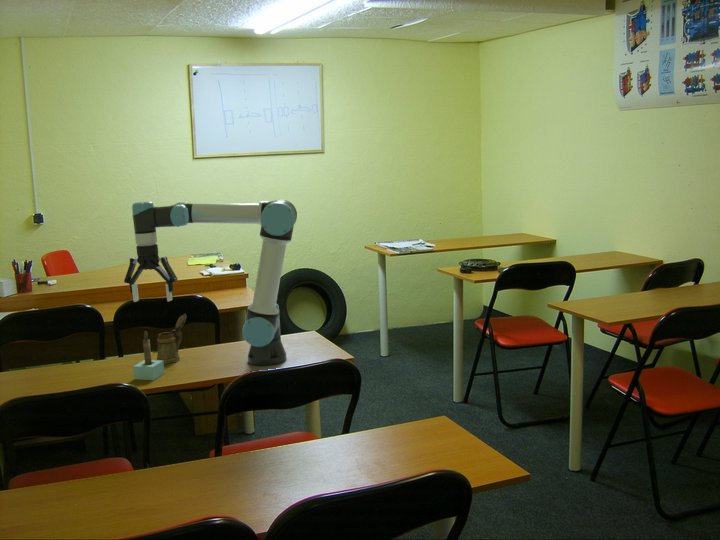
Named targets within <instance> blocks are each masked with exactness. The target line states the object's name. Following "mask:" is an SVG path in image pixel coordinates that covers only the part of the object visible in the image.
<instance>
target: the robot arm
mask: <svg viewBox="0 0 720 540" xmlns="http://www.w3.org/2000/svg"><path fill="white" fill-rule="evenodd" d="M131 206H132V207H131V210H132V221H133V228H134V236H135V237H134V238H135V239H134V240H135V244H136V247H135V248H136V249H135V250H136V255H137V257H135V256H133V257H130V258H129V265H128V268H127V272H126V275H125V277H124V281H123V282H124V283H126V284H128V285H129V290H130V293H131V294H132V299H133V302H134V303H137V302H138V301H139V302H140V298H139V297H140V296H139V295H140V294H139V289H138V287H139V286H138V282H137V280H138V278H139V277H140V275H141V274H142V272H144V270H145V271H147V270H151V271H152V270H153V271H156V273H157V274H158V275H160V276H161V278H162V279H163V281H165V282H166V283H165V292H166V293H165V294H166V300H167V302H171V301H173V293H172V292H174V282H176V281H178V277H177V275H176V273H175V272H174V270H173V269H172V267H171V265H170V263H169V261H168V257H167V255H166V256H162V257H161V256H160V257H159V245H158V244H157V243H158V238H157V237H158V236H157V228H171V227H175V228H176V227H177V228H178V227H179V228H180V227H184V226H187V225H188V224H242V225H243V224H249V225H250V224H252V225H253V224H258V225H260V232H259V237H260V238H261V239H262V244H261V250H260V257H259V262H258V269H257V275H256V280H255V288H254V293H253V298H252V303H250V304H249V305H248V306H247V309H246V310H247V311H246V316H245V322H244V324H243V326H242V336H243V339H244V340H245V342H247V343H248V344H249V345H250V346H249V350H248V353H247V362H248V363H249V364H250V365H253V366H263V367H264V366H273V365H274V366H275V365H278V364H281V363H284V362H285V361H286V360H287V352H286V349H285V347H284V345H283V343H282V337H281V322H280V319H281V318H280V311H281V310H280V305H279V304H278V303H277V300H278V295H279V288H280V282H281V277H282V273H283V272H282V271H283V267H284V265H283V264H284V259H285V254H286V249H287V244H288V243H290V242H291V241H292V237H293V232H294V226H295V224H296V222H297V219H298V212H297V208H296V206H295V205H294V204H293V203H292V202H291V201H289V200H286V199H275V200H262V201H260V202H259V203H186V202H177V203H175V204H172V205H166V206H165V205H164V206H154V202H153V201H139V202H134V203H132V205H131ZM137 263H138V264H139V265H138V267H137V269H136V271H135V268H136V266H137ZM160 263H161V264H160ZM163 268H164V269H163ZM136 282H137V283H136Z"/></svg>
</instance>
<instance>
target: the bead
mask: <svg viewBox="0 0 720 540" xmlns="http://www.w3.org/2000/svg"><path fill="white" fill-rule="evenodd" d="M151 361H152V364H151V365H145V359H143V360H142V361H139V362H138V363H137V364H134V365H133V366H132V368H133V378H134V380H141V381H145V380H146V381H155V380H156V379H158V378H159V377H161V376H163V375H164V374H165V364H164V361H161V360H157V359H156V360H155V359H151Z"/></svg>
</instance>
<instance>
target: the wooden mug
mask: <svg viewBox="0 0 720 540" xmlns="http://www.w3.org/2000/svg"><path fill="white" fill-rule="evenodd" d="M186 320H187V314H186V313H184V314H182V315H181V316H179V317H178V319H177V321H176V323H175V329H172V330H171V332H170V331H166V332H161V333H158V335H157V339H156V341H157V342H156V343H157V357H156V360H161V361H164V365H165V364H166V365H168V364H174V363H177V362H178V361H180V359H181V357H180V354H179V348H180V346H181V343H182V340H183V333H182V331H181V328H182V327H183V326H184V324H185V322H186ZM176 339H177V341H176Z"/></svg>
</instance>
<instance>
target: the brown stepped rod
mask: <svg viewBox="0 0 720 540" xmlns="http://www.w3.org/2000/svg"><path fill="white" fill-rule="evenodd" d="M143 337H144V339H143V340H142V347H143V357H144V358H143V360H145V365H151V364H152V361H151V360H152V352H151V340H150V338H149V337H148V332H147V331H146V330H145V331H144V332H143Z"/></svg>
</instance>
